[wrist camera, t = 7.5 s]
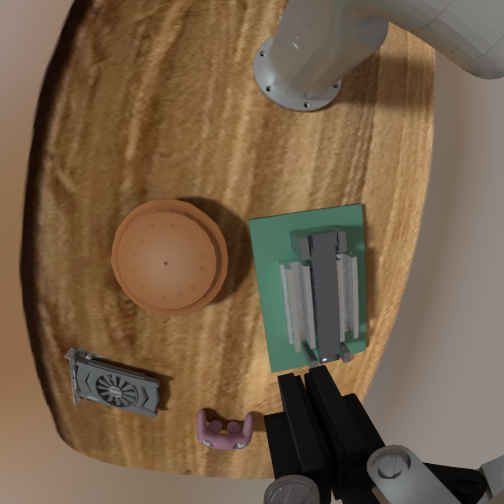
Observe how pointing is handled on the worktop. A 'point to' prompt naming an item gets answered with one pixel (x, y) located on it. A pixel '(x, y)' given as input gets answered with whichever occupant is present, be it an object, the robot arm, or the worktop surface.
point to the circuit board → (279, 248)
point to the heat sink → (302, 293)
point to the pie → (170, 257)
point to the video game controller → (224, 441)
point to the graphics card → (112, 384)
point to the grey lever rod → (325, 294)
